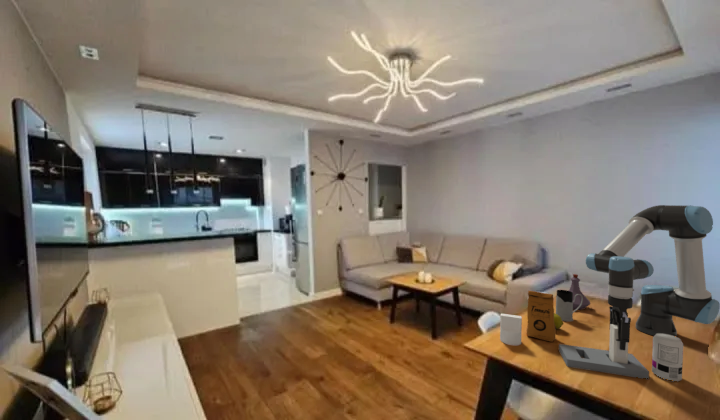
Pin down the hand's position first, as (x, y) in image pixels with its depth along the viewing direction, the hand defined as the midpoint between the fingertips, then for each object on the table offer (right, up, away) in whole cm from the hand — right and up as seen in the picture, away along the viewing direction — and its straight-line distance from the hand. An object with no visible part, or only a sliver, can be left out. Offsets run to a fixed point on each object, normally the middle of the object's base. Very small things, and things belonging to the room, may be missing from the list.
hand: (618, 353), depth 126 cm
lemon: (-4, -4, +37) cm, 38 cm away
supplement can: (+13, -6, -7) cm, 15 cm away
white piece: (-32, -4, +23) cm, 40 cm away
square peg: (0, -3, 0) cm, 3 cm away
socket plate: (-6, -5, +2) cm, 8 cm away
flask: (+28, -2, +68) cm, 73 cm away
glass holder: (+13, -3, +50) cm, 52 cm away
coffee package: (-16, -4, +26) cm, 31 cm away
